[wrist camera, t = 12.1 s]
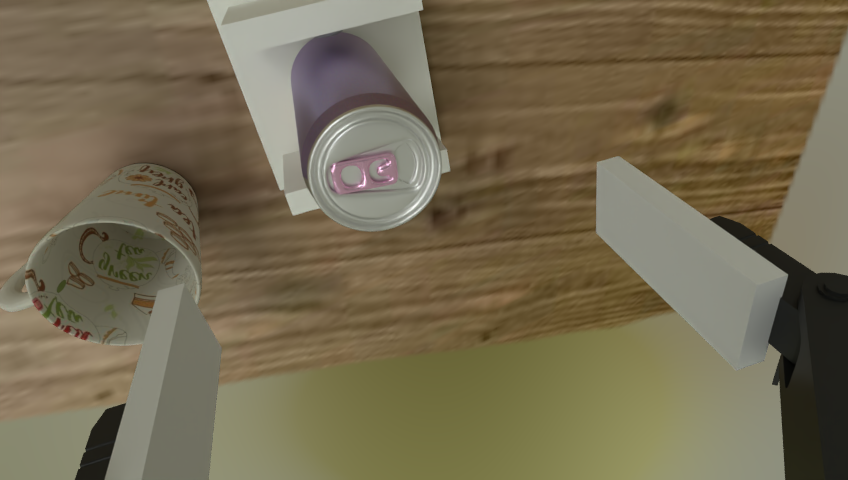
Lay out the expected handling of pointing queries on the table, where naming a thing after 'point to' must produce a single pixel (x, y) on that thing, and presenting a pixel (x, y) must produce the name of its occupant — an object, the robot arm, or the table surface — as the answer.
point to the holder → (281, 42)
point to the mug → (114, 257)
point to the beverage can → (361, 136)
